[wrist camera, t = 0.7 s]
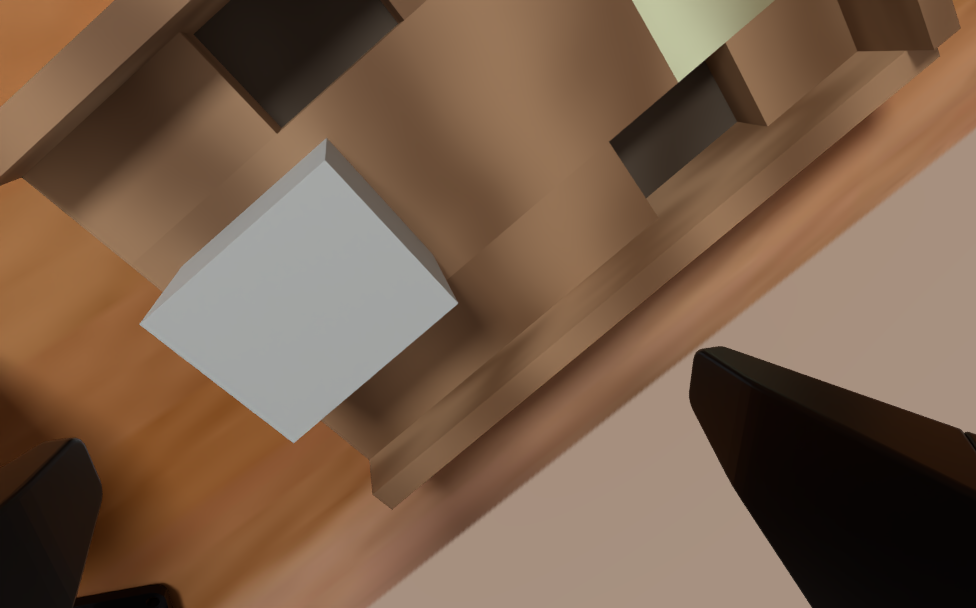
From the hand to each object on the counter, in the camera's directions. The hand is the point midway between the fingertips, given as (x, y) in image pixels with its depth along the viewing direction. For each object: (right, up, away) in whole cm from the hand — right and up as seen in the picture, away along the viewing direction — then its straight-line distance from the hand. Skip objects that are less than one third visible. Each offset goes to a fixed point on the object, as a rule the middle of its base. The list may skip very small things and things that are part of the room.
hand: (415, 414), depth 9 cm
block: (-5, +3, +10) cm, 12 cm away
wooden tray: (+1, +9, +12) cm, 15 cm away
